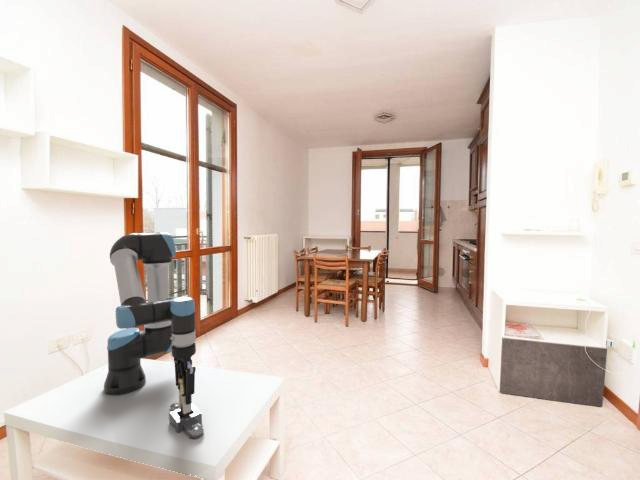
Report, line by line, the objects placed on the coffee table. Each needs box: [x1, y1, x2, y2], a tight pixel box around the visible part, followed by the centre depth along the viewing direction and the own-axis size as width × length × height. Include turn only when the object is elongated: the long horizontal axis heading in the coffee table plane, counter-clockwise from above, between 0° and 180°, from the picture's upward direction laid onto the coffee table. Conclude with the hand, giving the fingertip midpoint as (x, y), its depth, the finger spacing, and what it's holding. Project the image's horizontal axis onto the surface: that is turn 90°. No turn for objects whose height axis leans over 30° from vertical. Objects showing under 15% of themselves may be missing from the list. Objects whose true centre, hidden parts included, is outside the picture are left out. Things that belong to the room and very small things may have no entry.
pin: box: [178, 377, 190, 417], centre depth 111 cm, size 4×4×13 cm
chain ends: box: [168, 401, 205, 440], centre depth 111 cm, size 22×8×4 cm, turn 43°
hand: (185, 409), depth 111 cm, fingers closed on pin, 3 cm apart
